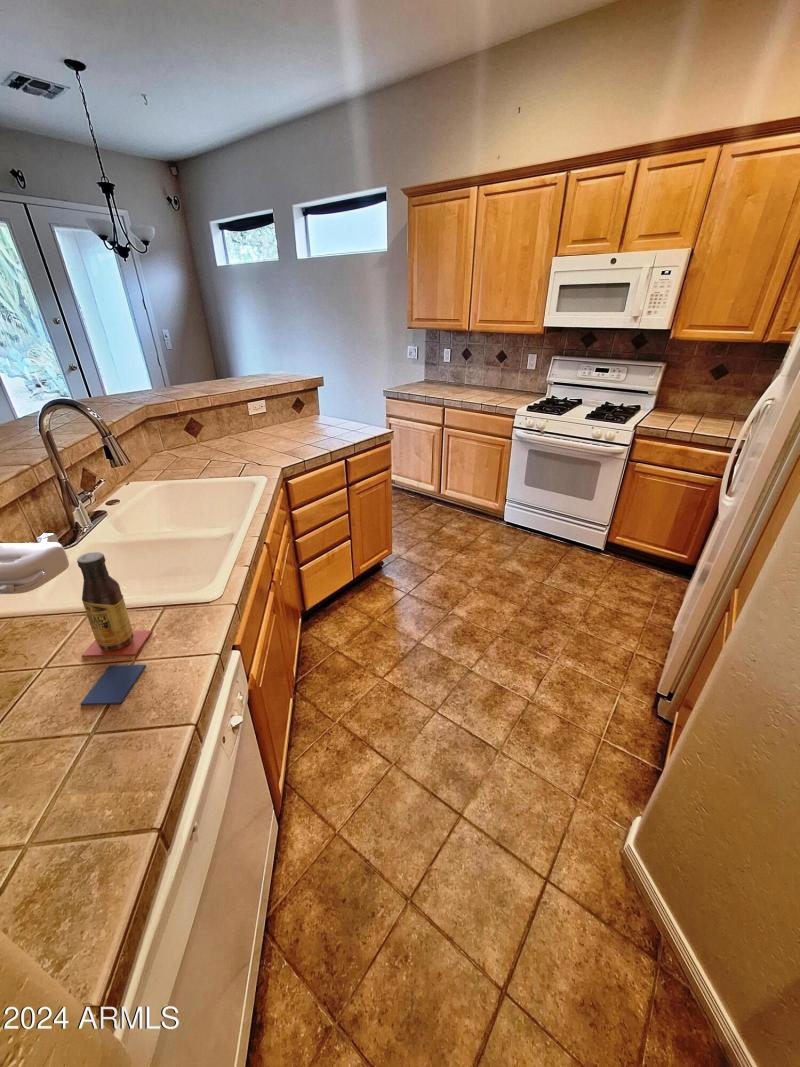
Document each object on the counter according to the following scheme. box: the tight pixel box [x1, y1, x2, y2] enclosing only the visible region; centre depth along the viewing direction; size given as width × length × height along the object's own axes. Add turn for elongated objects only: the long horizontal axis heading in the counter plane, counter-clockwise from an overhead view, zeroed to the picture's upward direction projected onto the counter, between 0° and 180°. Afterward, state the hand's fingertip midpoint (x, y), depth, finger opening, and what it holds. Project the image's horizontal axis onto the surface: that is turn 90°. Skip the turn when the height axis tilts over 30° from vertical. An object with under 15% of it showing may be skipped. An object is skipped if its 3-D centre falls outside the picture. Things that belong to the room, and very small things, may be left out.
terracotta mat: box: [81, 629, 153, 658], centre depth 86 cm, size 10×7×1 cm
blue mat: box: [80, 664, 147, 706], centre depth 76 cm, size 7×9×1 cm
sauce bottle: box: [76, 551, 134, 651], centre depth 81 cm, size 7×6×20 cm
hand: (17, 538), depth 62 cm, fingers open, 8 cm apart
